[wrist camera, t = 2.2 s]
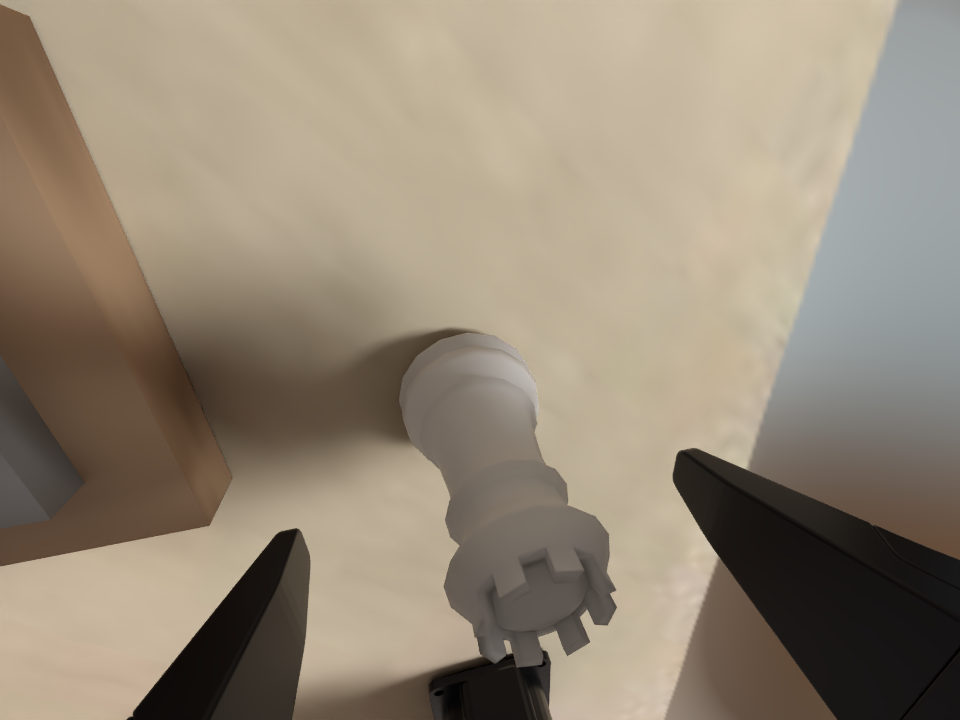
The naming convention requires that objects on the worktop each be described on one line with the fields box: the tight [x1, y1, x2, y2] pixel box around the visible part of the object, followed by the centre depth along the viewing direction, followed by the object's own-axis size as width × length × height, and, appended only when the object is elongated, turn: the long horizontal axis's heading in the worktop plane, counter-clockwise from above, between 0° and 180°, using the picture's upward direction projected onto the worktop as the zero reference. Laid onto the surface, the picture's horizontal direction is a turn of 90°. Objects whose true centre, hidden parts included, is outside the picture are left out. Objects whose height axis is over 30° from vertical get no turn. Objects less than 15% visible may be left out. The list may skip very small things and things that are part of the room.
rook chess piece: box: [399, 333, 617, 668], centre depth 10 cm, size 4×4×8 cm
